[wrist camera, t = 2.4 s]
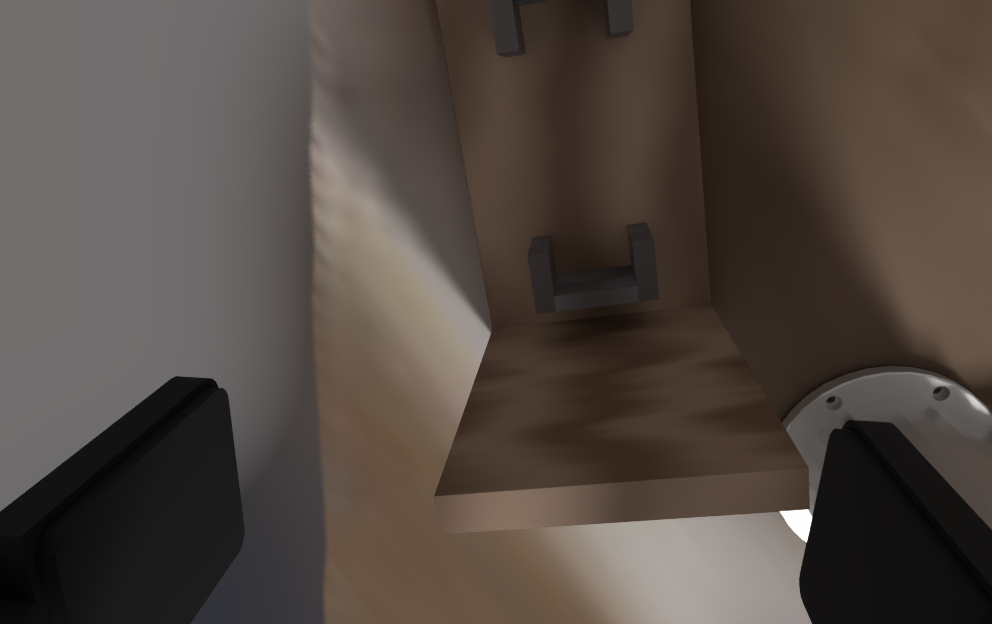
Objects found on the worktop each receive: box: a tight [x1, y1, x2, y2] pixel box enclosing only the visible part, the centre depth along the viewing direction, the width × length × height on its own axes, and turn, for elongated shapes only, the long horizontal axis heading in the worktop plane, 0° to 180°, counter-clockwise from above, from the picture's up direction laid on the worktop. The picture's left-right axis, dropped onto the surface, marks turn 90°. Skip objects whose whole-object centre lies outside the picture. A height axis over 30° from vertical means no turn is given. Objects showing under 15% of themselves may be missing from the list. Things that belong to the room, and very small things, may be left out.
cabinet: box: [434, 0, 810, 534], centre depth 28 cm, size 12×22×18 cm, turn 10°
